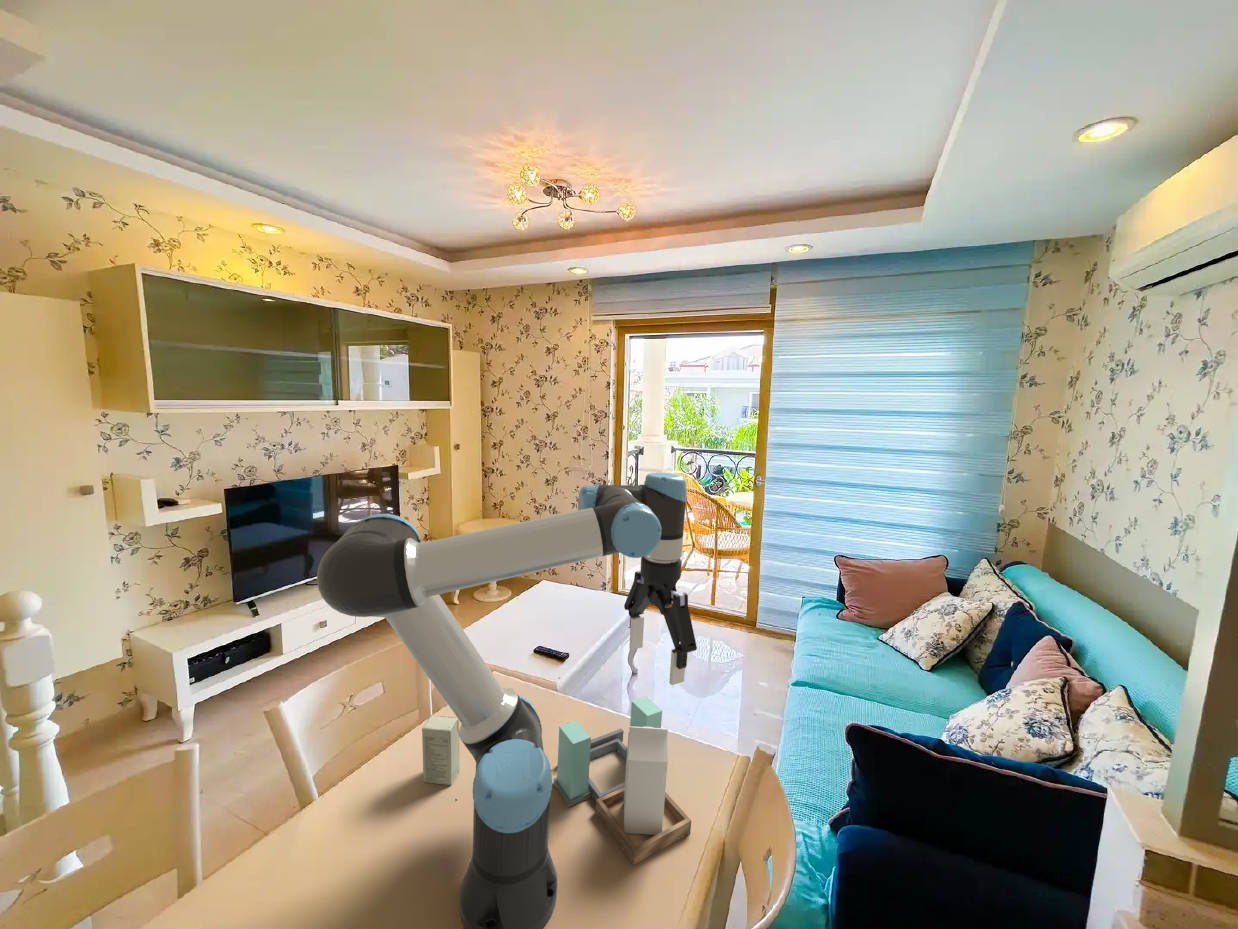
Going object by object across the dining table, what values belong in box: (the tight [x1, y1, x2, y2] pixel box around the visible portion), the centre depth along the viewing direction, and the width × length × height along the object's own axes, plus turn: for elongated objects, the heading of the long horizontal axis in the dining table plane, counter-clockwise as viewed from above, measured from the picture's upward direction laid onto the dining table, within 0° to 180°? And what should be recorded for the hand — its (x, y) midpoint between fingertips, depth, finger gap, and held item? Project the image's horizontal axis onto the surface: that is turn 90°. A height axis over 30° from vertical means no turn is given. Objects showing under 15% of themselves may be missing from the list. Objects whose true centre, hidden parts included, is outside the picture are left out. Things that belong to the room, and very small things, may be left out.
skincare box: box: [421, 715, 461, 786], centre depth 103 cm, size 6×4×12 cm
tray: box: [595, 786, 692, 866], centre depth 95 cm, size 13×13×3 cm
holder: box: [553, 695, 663, 808], centre depth 107 cm, size 23×14×13 cm, turn 123°
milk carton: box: [624, 725, 669, 835], centre depth 94 cm, size 7×7×19 cm
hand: (655, 664), depth 95 cm, fingers open, 13 cm apart
